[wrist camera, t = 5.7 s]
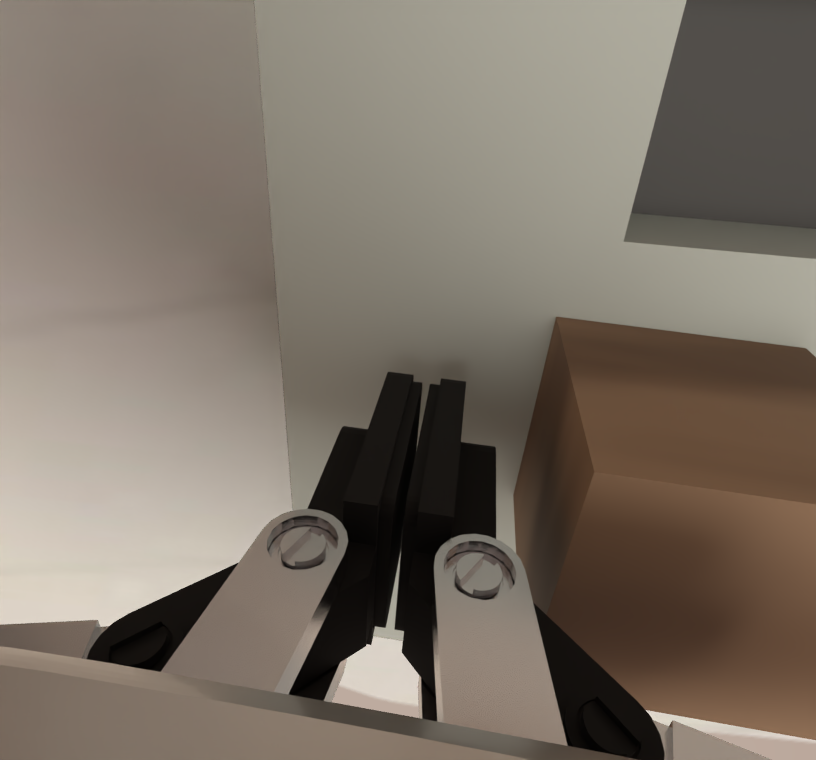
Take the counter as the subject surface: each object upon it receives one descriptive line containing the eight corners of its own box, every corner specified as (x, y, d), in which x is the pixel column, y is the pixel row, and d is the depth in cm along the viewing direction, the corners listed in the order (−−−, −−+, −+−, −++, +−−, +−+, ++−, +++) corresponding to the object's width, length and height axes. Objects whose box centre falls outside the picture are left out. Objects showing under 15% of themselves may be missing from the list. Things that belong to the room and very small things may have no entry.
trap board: (301, -110, 11) (212, -188, 7) (1618, -61, 9) (2328, -135, 5) (325, 554, 21) (291, 652, 17) (951, 645, 19) (1055, 777, 15)
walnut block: (556, 316, 11) (594, 471, 7) (806, 348, 11) (1006, 532, 7) (513, 494, 14) (522, 687, 10) (714, 525, 14) (815, 740, 9)
